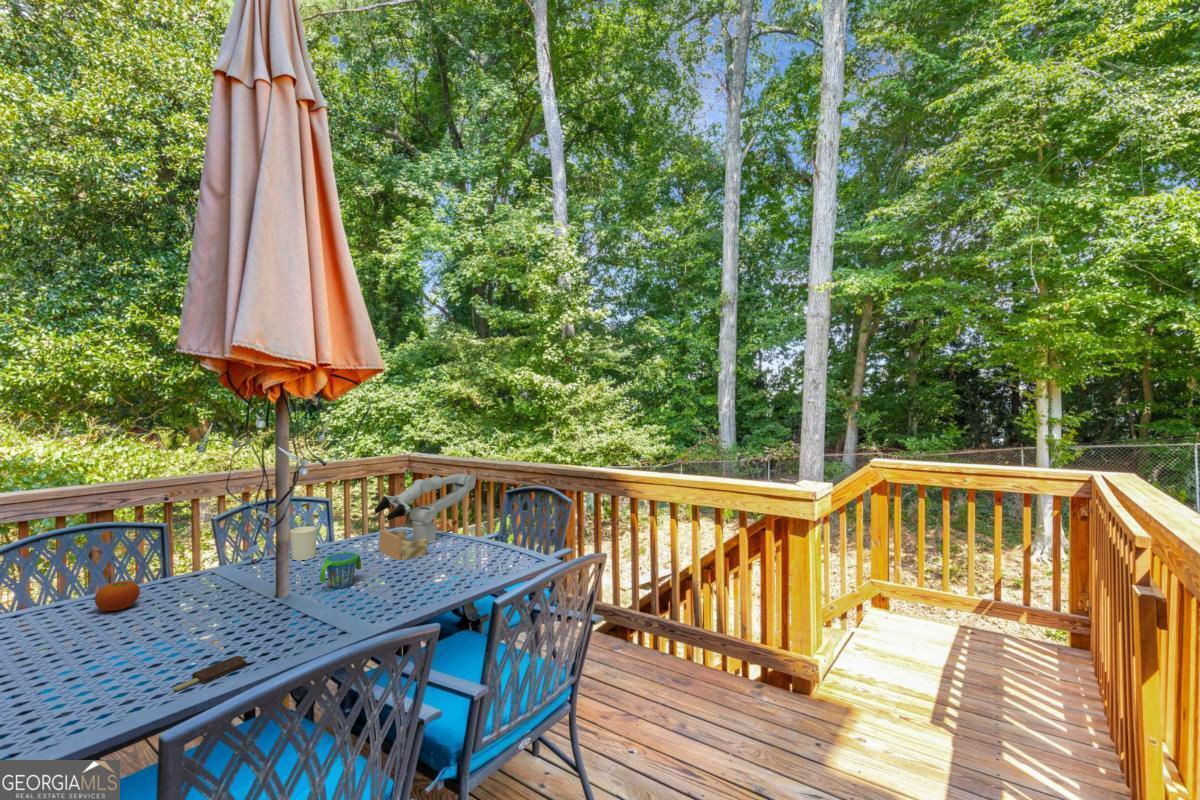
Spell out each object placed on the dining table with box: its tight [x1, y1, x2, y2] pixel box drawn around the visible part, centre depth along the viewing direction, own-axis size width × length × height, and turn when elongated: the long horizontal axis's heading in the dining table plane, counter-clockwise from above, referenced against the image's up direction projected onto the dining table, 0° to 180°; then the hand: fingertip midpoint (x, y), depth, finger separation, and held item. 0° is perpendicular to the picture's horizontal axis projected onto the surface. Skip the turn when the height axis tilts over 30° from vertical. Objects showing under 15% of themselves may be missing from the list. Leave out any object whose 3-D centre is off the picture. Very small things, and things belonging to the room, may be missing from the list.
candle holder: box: [289, 525, 318, 560], centre depth 215 cm, size 10×10×12 cm
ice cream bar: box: [172, 655, 248, 692], centre depth 126 cm, size 5×2×15 cm
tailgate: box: [379, 529, 402, 561], centre depth 220 cm, size 1×18×9 cm, turn 46°
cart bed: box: [389, 529, 429, 561], centre depth 224 cm, size 10×21×7 cm, turn 45°
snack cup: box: [319, 551, 362, 589], centre depth 186 cm, size 16×10×10 cm
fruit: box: [94, 580, 141, 612], centre depth 164 cm, size 11×10×8 cm
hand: (381, 515), depth 222 cm, fingers open, 7 cm apart
